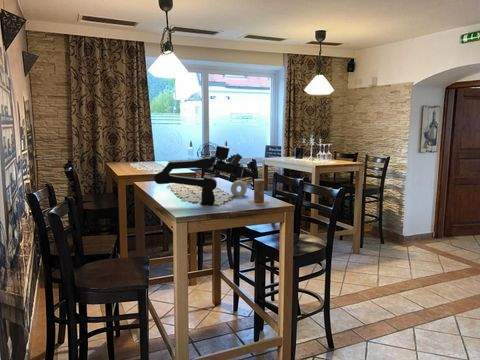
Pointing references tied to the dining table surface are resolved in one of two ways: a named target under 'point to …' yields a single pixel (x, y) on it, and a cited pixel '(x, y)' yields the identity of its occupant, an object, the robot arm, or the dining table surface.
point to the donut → (234, 188)
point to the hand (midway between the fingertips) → (254, 174)
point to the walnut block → (258, 190)
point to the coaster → (258, 203)
